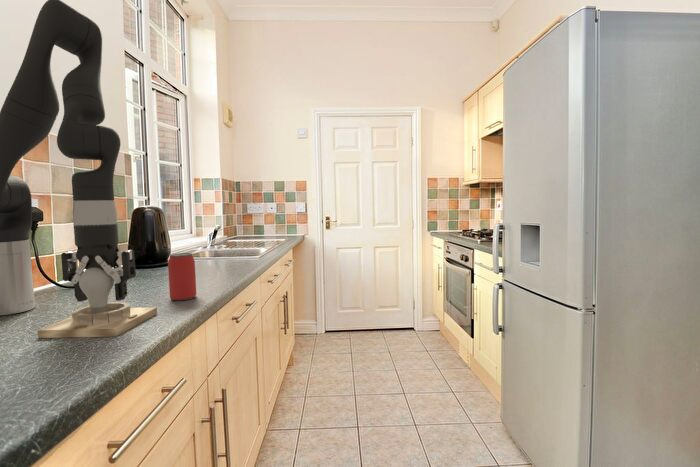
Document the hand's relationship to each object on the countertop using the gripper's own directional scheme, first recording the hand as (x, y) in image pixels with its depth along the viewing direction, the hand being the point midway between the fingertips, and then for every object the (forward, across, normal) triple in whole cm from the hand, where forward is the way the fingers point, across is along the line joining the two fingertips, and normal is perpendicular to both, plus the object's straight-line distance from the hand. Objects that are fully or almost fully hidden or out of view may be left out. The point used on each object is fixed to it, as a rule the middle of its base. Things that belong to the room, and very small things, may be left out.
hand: (101, 300), depth 78 cm
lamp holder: (+5, 0, 0) cm, 5 cm away
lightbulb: (+4, 0, 0) cm, 4 cm away
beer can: (+5, -7, -22) cm, 24 cm away
